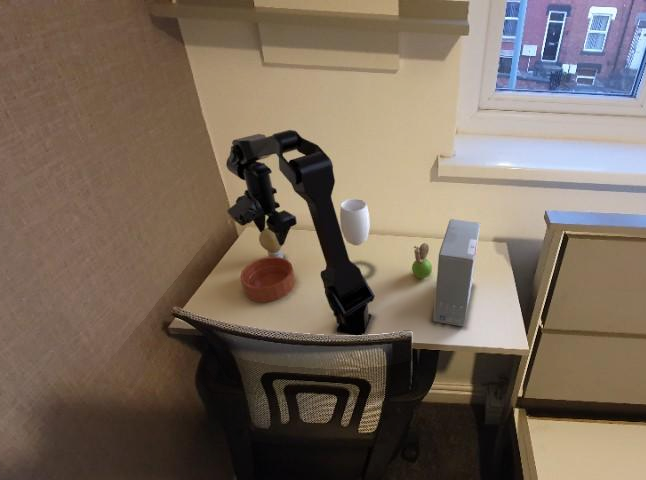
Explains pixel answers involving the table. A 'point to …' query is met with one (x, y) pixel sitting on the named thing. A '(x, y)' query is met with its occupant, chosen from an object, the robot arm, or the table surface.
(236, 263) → the table surface
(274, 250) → the light bulb
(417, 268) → the snail figurine
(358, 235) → the cup
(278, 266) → the bowl
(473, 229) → the hard drive box
